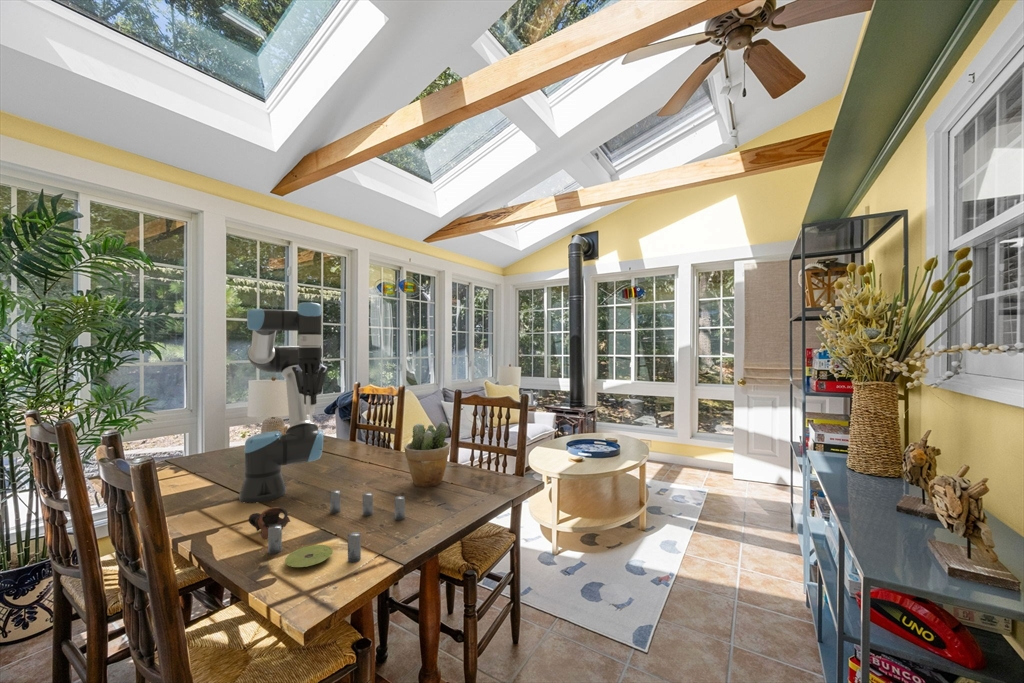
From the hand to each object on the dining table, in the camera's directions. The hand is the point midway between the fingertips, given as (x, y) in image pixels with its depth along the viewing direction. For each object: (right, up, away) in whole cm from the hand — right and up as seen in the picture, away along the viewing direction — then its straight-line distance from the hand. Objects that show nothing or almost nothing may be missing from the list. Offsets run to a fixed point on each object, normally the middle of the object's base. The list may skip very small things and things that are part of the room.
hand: (310, 413), depth 146 cm
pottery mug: (-4, -34, -19) cm, 39 cm away
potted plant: (+36, -32, +23) cm, 54 cm away
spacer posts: (+20, -32, -21) cm, 44 cm away
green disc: (+18, -33, -37) cm, 53 cm away
